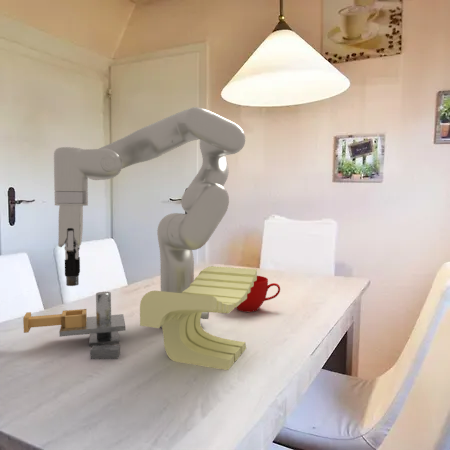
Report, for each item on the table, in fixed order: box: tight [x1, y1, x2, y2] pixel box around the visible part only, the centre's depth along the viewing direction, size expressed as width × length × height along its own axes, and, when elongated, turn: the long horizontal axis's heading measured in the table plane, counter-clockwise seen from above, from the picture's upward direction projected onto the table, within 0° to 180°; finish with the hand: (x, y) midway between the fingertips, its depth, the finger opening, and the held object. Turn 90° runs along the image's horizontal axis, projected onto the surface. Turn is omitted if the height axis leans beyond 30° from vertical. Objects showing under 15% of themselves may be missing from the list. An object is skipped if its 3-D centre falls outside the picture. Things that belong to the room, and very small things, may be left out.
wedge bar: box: [89, 344, 121, 360], centre depth 90 cm, size 6×3×2 cm, turn 92°
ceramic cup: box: [236, 275, 281, 313], centre depth 129 cm, size 13×17×10 cm
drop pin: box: [65, 245, 81, 287], centre depth 97 cm, size 3×3×9 cm
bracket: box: [22, 308, 88, 334], centre depth 97 cm, size 14×6×4 cm, turn 108°
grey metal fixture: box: [58, 291, 126, 347], centre depth 100 cm, size 15×10×12 cm, turn 108°
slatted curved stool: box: [139, 265, 258, 371], centre depth 92 cm, size 30×16×18 cm, turn 160°
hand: (72, 273), depth 98 cm, fingers closed on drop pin, 2 cm apart
